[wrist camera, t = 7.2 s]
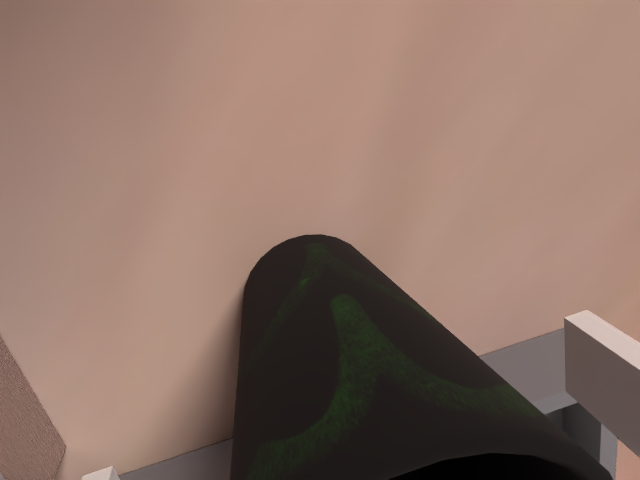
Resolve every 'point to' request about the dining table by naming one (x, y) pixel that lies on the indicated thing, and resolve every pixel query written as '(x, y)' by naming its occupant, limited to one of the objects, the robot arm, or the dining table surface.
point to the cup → (374, 384)
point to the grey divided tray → (510, 363)
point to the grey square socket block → (24, 428)
